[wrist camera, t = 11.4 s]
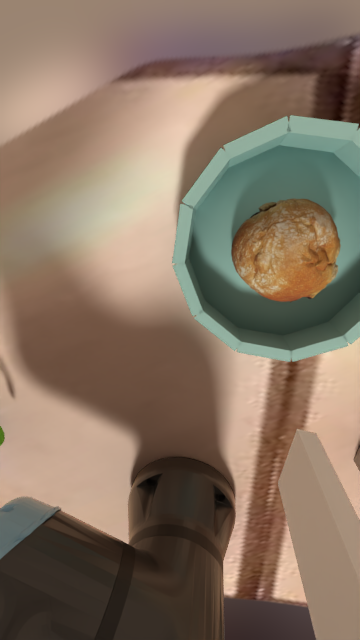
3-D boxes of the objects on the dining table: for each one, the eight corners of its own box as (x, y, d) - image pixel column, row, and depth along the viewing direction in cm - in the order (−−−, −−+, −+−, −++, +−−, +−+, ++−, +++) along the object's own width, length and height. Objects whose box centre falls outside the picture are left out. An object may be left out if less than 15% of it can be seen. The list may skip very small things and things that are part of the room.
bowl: (349, 356, 35) (369, 376, 30) (169, 323, 37) (161, 338, 32) (422, 151, 28) (463, 137, 24) (198, 121, 30) (194, 102, 25)
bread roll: (298, 195, 34) (295, 155, 26) (361, 267, 31) (378, 245, 23) (225, 254, 36) (204, 233, 29) (278, 324, 34) (269, 320, 26)
